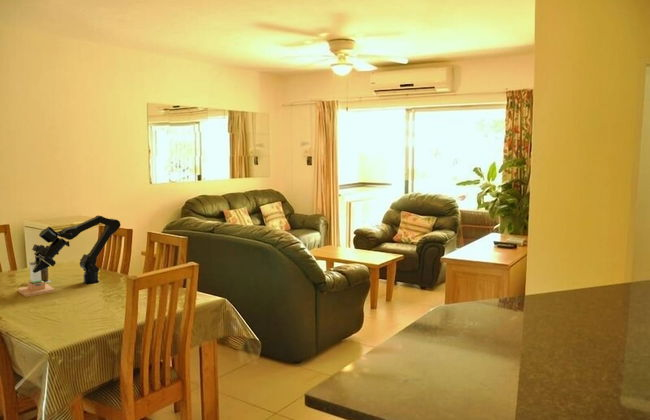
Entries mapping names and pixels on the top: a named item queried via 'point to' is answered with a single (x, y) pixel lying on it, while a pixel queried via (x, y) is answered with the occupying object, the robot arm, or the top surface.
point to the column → (35, 276)
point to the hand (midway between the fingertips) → (32, 271)
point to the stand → (36, 289)
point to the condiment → (45, 275)
